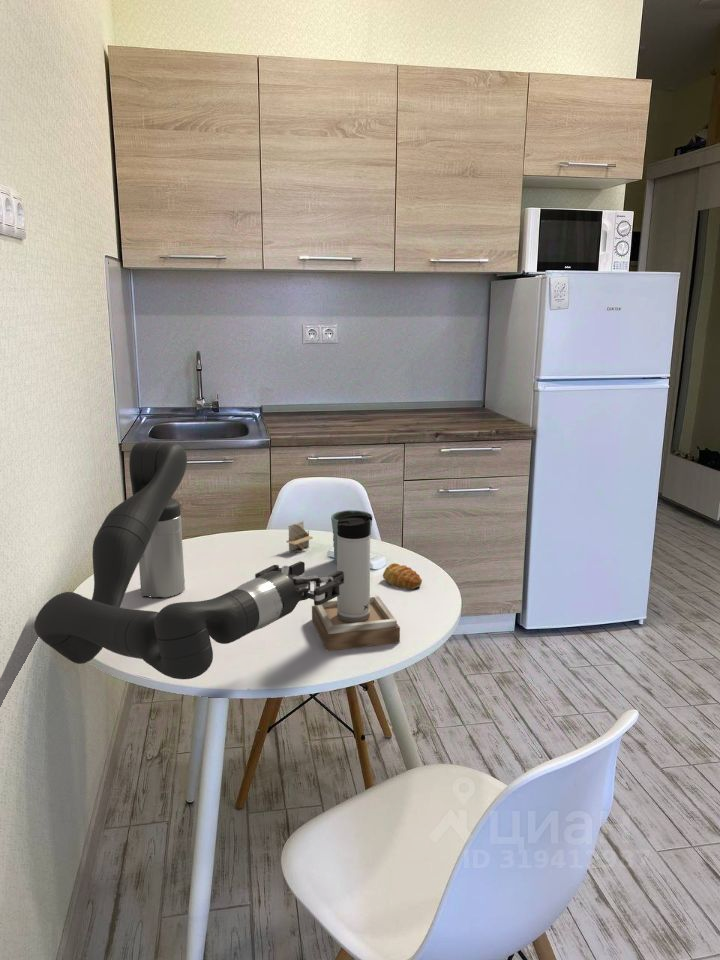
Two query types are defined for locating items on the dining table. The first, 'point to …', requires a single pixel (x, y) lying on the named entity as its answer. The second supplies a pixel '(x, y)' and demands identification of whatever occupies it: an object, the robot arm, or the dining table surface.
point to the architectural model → (298, 536)
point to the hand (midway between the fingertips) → (322, 571)
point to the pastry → (402, 576)
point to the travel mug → (354, 568)
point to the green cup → (334, 519)
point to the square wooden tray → (355, 626)
